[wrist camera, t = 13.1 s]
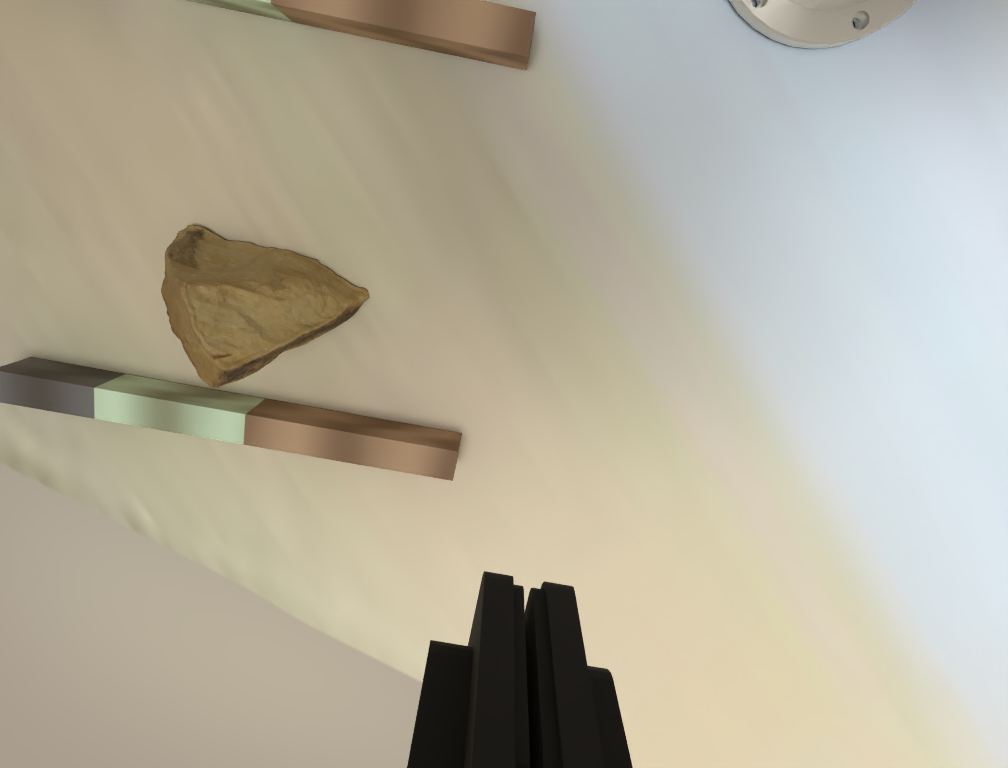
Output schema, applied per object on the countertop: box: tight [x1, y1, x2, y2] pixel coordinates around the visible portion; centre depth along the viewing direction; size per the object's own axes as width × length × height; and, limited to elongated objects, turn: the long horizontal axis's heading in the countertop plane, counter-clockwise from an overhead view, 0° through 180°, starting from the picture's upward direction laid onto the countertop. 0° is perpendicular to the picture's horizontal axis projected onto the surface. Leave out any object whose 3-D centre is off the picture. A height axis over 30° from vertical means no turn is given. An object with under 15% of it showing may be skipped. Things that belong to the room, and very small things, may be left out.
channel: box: [0, 0, 536, 481], centre depth 33 cm, size 28×26×3 cm
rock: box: [161, 225, 369, 389], centre depth 33 cm, size 11×9×10 cm
